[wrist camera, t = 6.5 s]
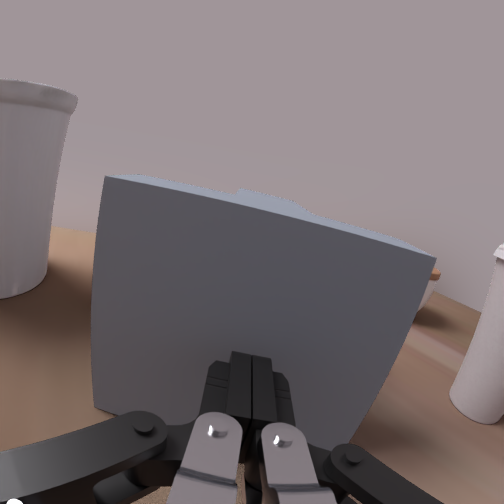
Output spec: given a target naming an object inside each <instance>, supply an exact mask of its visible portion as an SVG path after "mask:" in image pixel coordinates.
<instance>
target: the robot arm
mask: <svg viewBox="0 0 504 504" xmlns="http://www.w3.org/2000/svg"><path fill="white" fill-rule="evenodd" d="M238 463H243V464H245V471H244V474H243V476H242V478H241V493H242V504H357V503H356V502H355V501H353V500H352V499H351V498H350V497H348V495H349V494H351V495H352V496H353V497H354V498H356V499H357V500H358V501H360V502H361V503H362V504H444V503H442V502H440V501H439V500H437V499H436V498H434V497H432V496H431V495H429V494H428V493H426V492H425V491H423V490H422V489H420V488H418V487H417V486H415V485H414V484H412V483H411V482H409V481H408V480H406V479H405V478H403V477H402V476H401V475H399V474H398V473H396V472H395V471H393V470H392V469H390V468H389V467H388V466H386V465H385V464H383V463H382V462H380V461H379V460H378V459H376V458H375V457H374V456H372V455H371V454H369V453H368V452H367V451H365V450H364V449H362V448H361V447H359V446H357V445H354V444H340V445H337V446H336V447H334V448H333V450H332V451H329V450H326V449H322V448H319V447H316V446H313V445H311V444H309V443H308V442H306V438H305V436H304V434H303V433H302V432H301V431H300V430H299V429H297V428H296V424H295V418H294V412H293V406H292V400H291V393H290V387H289V382H288V380H287V379H286V378H285V376H284V375H283V374H282V373H280V372H274V371H273V370H272V360H271V358H267V357H262V356H257V355H252V356H251V354H246V353H242V352H237V351H232V352H231V356H230V360H229V363H227V362H222V361H218V360H216V361H215V362H214V363H212V364H211V365H210V366H209V369H208V373H207V378H206V382H205V387H204V391H203V396H202V401H201V406H200V410H199V415H198V416H197V418H196V419H195V420H193V421H192V422H190V423H187V424H183V425H166V424H165V422H164V421H163V420H162V419H161V418H160V417H159V416H157V415H155V414H153V413H151V412H147V411H131V412H128V413H125V414H123V415H120V416H117V417H115V418H112V419H109V420H106V421H103V422H101V423H98V424H95V425H92V426H89V427H86V428H83V429H80V430H77V431H74V432H71V433H68V434H64V435H61V436H58V437H54V438H51V439H48V440H44V441H41V442H37V443H33V444H30V445H26V446H22V447H18V448H14V449H10V450H6V451H2V452H0V504H130V503H132V502H134V501H136V500H138V499H140V498H142V497H144V496H146V495H148V494H150V493H152V492H154V491H156V490H157V489H158V488H159V487H160V486H172V487H171V490H170V493H169V496H168V499H167V502H166V504H235V503H236V496H237V484H236V483H235V480H236V473H237V466H238Z"/></svg>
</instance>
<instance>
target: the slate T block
mask: <svg viewBox="0 0 504 504" xmlns="http://www.w3.org/2000/svg"><path fill="white" fill-rule="evenodd" d="M435 262H436V258H435V257H433V256H432V255H429V254H428V253H426V252H424V251H422V250H420V249H418V248H416V247H414V246H412V245H410V244H408V243H406V242H404V241H402V240H400V239H397V238H394V237H390V236H387V235H384V234H381V233H377V232H374V231H371V230H367V229H363V228H360V227H357V226H353V225H350V224H346V223H343V222H339V221H335V220H332V219H328V218H324V217H321V216H317V215H314V214H312V213H311V212H309V211H307V210H306V209H304V208H303V207H301V206H300V205H298V204H297V203H295V202H294V201H291V200H287V199H283V198H279V197H275V196H271V195H267V194H263V193H259V192H255V191H251V190H246V189H242V188H240V189H239V190H238V192H237V193H236V194H235V195H233V194H229V193H225V192H220V191H216V190H212V189H207V188H203V187H198V186H193V185H189V184H184V183H179V182H175V181H170V180H165V179H160V178H155V177H150V176H145V175H139V174H137V175H111V176H105V178H104V184H103V190H102V196H101V203H100V210H99V217H98V225H97V233H96V242H95V252H94V264H93V278H92V298H91V365H92V384H93V398H94V407H96V408H98V409H101V410H104V411H107V412H109V413H112V414H115V415H118V416H120V415H123V414H125V413H128V412H131V411H147V412H151V413H153V414H155V415H157V416H159V417H160V418H161V419H162V420H163V421H164V422H165V424H166V425H183V424H187V423H190V422H192V421H193V420H195V419H196V418H197V416H198V415H199V410H200V406H201V401H202V396H203V391H204V387H205V382H206V378H207V373H208V369H209V366H210V365H211V364H212V363H214V362H215V361H216V360H218V361H222V362H227V363H229V360H230V356H231V352H232V351H237V352H242V353H246V354H251V356H252V355H257V356H262V357H267V358H271V360H272V370H273V371H274V372H280V373H282V374H283V375H284V376H285V378H286V379H287V380H288V382H289V387H290V393H291V400H292V406H293V412H294V418H295V424H296V428H297V429H299V430H300V431H301V432H302V433H303V434H304V436H305V438H306V442H308V443H309V444H311V445H313V446H316V447H319V448H322V449H326V450H329V451H332V450H333V448H334V447H336V446H337V445H340V444H348V443H349V441H350V440H351V438H352V436H353V435H354V433H355V432H356V430H357V429H358V427H359V425H360V424H361V422H362V420H363V419H364V417H365V415H366V414H367V412H368V410H369V409H370V407H371V405H372V403H373V402H374V400H375V398H376V396H377V394H378V393H379V391H380V389H381V387H382V385H383V383H384V381H385V380H386V378H387V376H388V374H389V372H390V370H391V368H392V366H393V364H394V362H395V360H396V358H397V356H398V354H399V351H400V349H401V347H402V345H403V343H404V341H405V339H406V336H407V334H408V332H409V330H410V327H411V325H412V323H413V320H414V318H415V315H416V313H417V311H418V308H419V306H420V303H421V301H422V298H423V295H424V293H425V290H426V287H427V285H428V282H429V279H430V276H431V274H432V271H433V268H434V265H435Z"/></svg>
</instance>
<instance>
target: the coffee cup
mask: <svg viewBox="0 0 504 504" xmlns="http://www.w3.org/2000/svg"><path fill="white" fill-rule="evenodd" d="M493 255H494V256H496V257H497V260H496V265H495V269H494V273H493V277H492V281H491V285H490V288H489V292H488V295H487V299H486V301H485V305H484V308H483V311H482V314H481V317H480V320H479V323H478V325H477V328H476V331H475V334H474V336H473V339H472V341H471V344H470V346H469V349H468V351H467V354H466V356H465V359H464V361H463V363H462V365H461V368H460V370H459V372H458V374H457V377H456V379H455V381H454V383H453V385H452V387H451V389H450V392H449V396H450V399H451V401H452V403H453V404H454V406H455V407H456V408H457V409H458V410H459V411H460V412H461V413H462V414H464V415H465V416H466V417H468V418H470V419H472V420H474V421H476V422H479V423H482V424H494V423H496V422H497V421H498V420H499V419H500V418H501V417H502V415H503V414H504V243H503V245H500V246H499V247H498V249H496V251H495V253H494V254H493Z"/></svg>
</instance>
